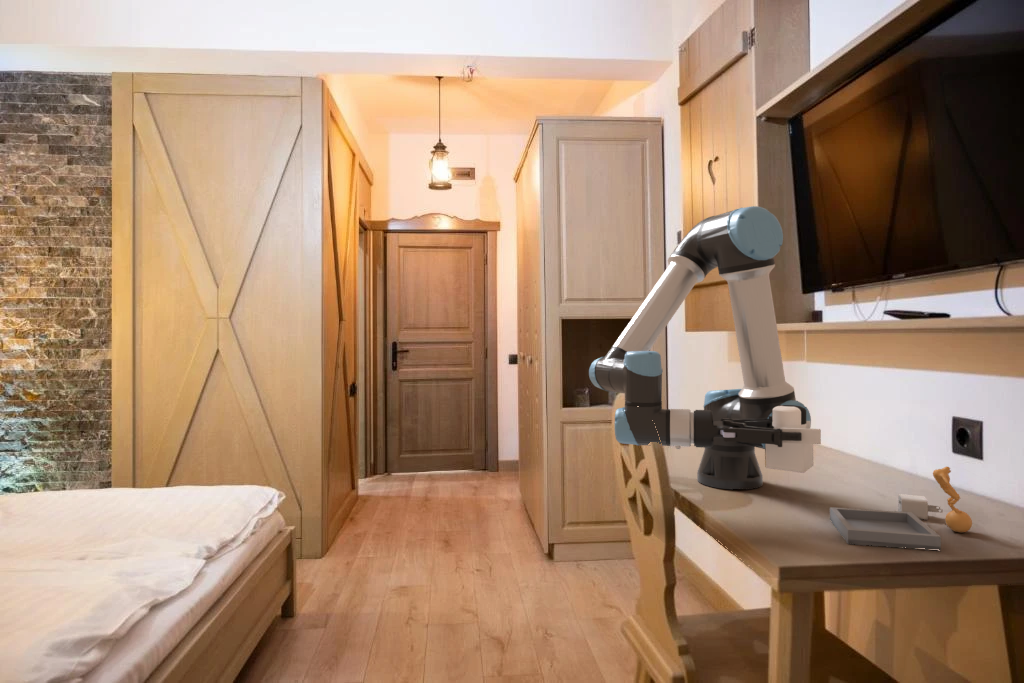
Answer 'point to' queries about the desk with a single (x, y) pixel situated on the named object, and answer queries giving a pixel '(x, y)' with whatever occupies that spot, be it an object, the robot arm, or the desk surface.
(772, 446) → the medicine bottle
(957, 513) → the figurine
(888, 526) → the tray
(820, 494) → the desk surface
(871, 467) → the desk surface
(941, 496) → the desk surface
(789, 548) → the desk surface
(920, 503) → the usb wall charger
